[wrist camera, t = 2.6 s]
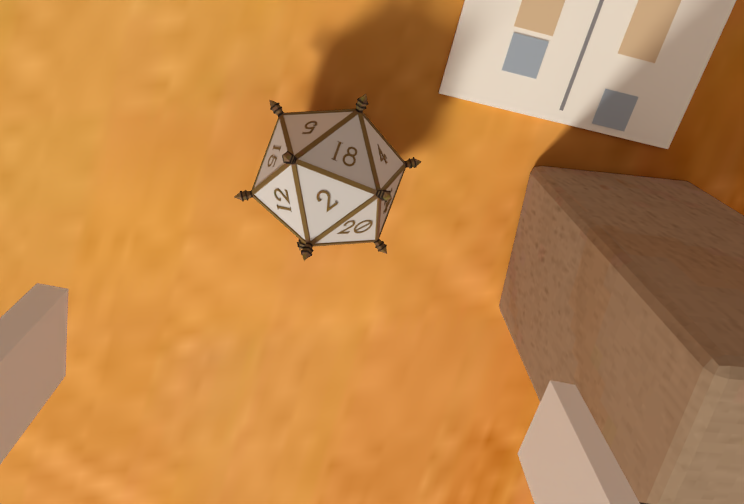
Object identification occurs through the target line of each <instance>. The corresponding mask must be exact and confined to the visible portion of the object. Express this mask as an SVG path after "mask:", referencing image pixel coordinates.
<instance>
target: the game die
mask: <svg viewBox="0 0 744 504" xmlns="http://www.w3.org/2000/svg"><path fill="white" fill-rule="evenodd" d="M357 100H358V102H357V103H356V109H344V110H326V111H308V112H290V113H284V112H283V111H282V106H281V107H280V105H279V103H276V102H274V101H271V100H270V105H271V108H270V109H271V110H273V112H274V114H276V115H278V120H277V123H276V126H275V128H274V131H273V134H272V136H271V139H270V142H269V144H268V147H267V150H266V153H265V155H264V158H263V161H262V163H261V166H260V169H259V172H258V174H257V177H256V180H255V182H254V185H253V188H252V190H251V191H246V190H245V191H243V192H242V191H240V193H238V194H237V195H236V196H235V198H237V199H240V200H242V201H244V200H248V199H249V198H251V197H253V198H254V199H255V200H256V201H258V202H259V203H260V204H261V205H262V206H263V207H264V208H265V209H267V210H268V211H269V212H270V213H271V214H272V215H273V216H274V217H276V218H277V219H278V220H279V221H280V222H281V223H282V224H283V225H284V226H286V227H287V228H288V229H289V230H290V231H291V232H292V233H293V234H295V235H296V236H297V237H298V238H299V242H297V244H298V247H299V250H301V249H303V250H301V254H302V255H303V259H304V260H306V259H307V258H308V257H310V256H312V252H313V249H312V246H326V245H341V244H355V243H370V242H374V243H375V245H376V247H375V248H377V249H378V252H379V251H380V252H383V253H386V254H387V250H386V246H387V245H385V244H384V242H383V241H381V240H380V239H379V237H380V235H381V232H382V229H383V227H384V224H385V221H386V219H387V216H388V213H389V211H390V208H391V205H392V203H393V200H394V197H395V195H396V192H397V189H398V187H399V184H400V181H401V179H402V176H403V174H404V171H405V168H406V167H409V168H412V167H414V168H415V167H416V166H417V165H418V164H419V163H421V161H419V160H417V159H414V157H413V159H410V158H409V159H408V160H407V161H404V160H403V159H402V158H401V157H400V156H399V155H398V153H397V152H396V151H395V150H394V149H393V148H392V146H391V145H390V144H389V143H388V142H387V140H386V139H385V138H384V137H383V136H382V135H381V133H380V132H379V131H378V130H377V129H376V128H375V126H374V125H373V124H372V123H371V122H370V120H369V119H368V118H367V117H366V116H365V115H364V113H363V110H364V109H366V105H368V102H367V96H366V94H365V95H364V96H362V97H361V98H358V99H357Z"/></svg>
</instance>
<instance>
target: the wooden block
mask: <svg viewBox="0 0 744 504" xmlns="http://www.w3.org/2000/svg"><path fill="white" fill-rule="evenodd" d="M499 307H500V311H501V313H502V315H503V318H504V320H505V322H506V325H507V327H508V329H509V331H510V334H511V336H512V338H513V341H514V343H515V345H516V347H517V350H518V352H519V354H520V357H521V359H522V361H523V363H524V366H525V368H526V370H527V373H528V375H529V377H530V380H531V382H532V384H533V386H534V389H535V391H536V393H537V396H538V398H539V400H540V402H541V400H542V397H543V395H544V393H545V391H546V388H547V386H548V384H549V382H550V380H552V381H557V382H563V383H568V384H573V385H576V387H577V389H578V390H579V392H580V394H581V396H582V398H583V400H584V402H585V403H586V405H587V407H588V409H589V411H590V413H591V414H592V416H593V418H594V420H595V422H596V424H597V425H598V427H599V429H600V431H601V433H602V435H603V437H604V438H605V440H606V442H607V444H608V446H609V448H610V449H611V451H612V453H613V455H614V457H615V459H616V460H617V462H618V464H619V466H620V468H621V470H622V472H623V473H624V475H625V477H626V479H627V481H628V483H629V484H630V486H631V488H632V490H633V492H634V494H635V495H636V497H637V499H638V501H639V502H642V503H648V504H744V216H743V215H741V214H740V213H738V212H737V211H735V210H733V209H732V208H730V207H729V206H727V205H725V204H724V203H722V202H720V201H719V200H717V199H716V198H714V197H712V196H711V195H709V194H708V193H706V192H704V191H703V190H701V189H699V188H698V187H696V186H695V185H693V184H691V183H690V182H688V181H681V180H671V179H662V178H652V177H642V176H633V175H623V174H614V173H604V172H595V171H585V170H576V169H566V168H556V167H547V166H538V167H534V168H533V169H532V171H531V173H530V177H529V181H528V185H527V190H526V194H525V198H524V202H523V206H522V211H521V215H520V219H519V223H518V228H517V232H516V236H515V240H514V245H513V249H512V253H511V257H510V262H509V266H508V270H507V274H506V279H505V283H504V287H503V291H502V296H501V300H500V304H499Z"/></svg>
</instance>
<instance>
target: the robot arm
mask: <svg viewBox="0 0 744 504" xmlns="http://www.w3.org/2000/svg"><path fill="white" fill-rule="evenodd" d="M67 313H68V289H65V288H60V287H55V286H50V285H44V284H39V283H37V284H36V285H35V286H34V287H32V288H31V289H30V290H29V291H28V292H27V293H26V294H25V295H24V296H23V297H22V298H21V299H20V300H19V301H18V302H17V303H16V304H15V305H13V306H12V307H11V308H10V309H9V310H8V311H7V312H6V313H5V314H4V315H3V316H2V317H1V318H0V464H1V463H2V461H3V460H4V459H5V457H6V456H7V454H8V453H9V452H10V450H11V449H12V448H13V446H14V445H15V444H16V442H17V441H18V440H19V438H20V437H21V435H22V434H23V433H24V431H25V430H26V429H27V427H28V426H29V425H30V423H31V422H32V421H33V419H34V418H35V416H36V415H37V414H38V412H39V411H40V410H41V408H42V407H43V406H44V404H45V403H46V402H47V400H48V399H49V397H50V396H51V395H52V393H53V392H54V391H55V389H56V388H57V387H58V385H59V384H60V382H61V381H62V380H63V378H64V377H65V373H66V343H67ZM518 456H519V459H520V462H521V465H522V468H523V471H524V474H525V477H526V480H527V483H528V486H529V488H530V491H531V494H532V497H533V500H534V503H535V504H648V503H642V502H639V501H638V499H637V497H636V495H635V494H634V492H633V490H632V488H631V486H630V484H629V483H628V481H627V479H626V477H625V475H624V473H623V472H622V470H621V468H620V466H619V464H618V462H617V460H616V459H615V457H614V455H613V453H612V451H611V449H610V448H609V446H608V444H607V442H606V440H605V438H604V437H603V435H602V433H601V431H600V429H599V427H598V425H597V424H596V422H595V420H594V418H593V416H592V414H591V413H590V411H589V409H588V407H587V405H586V403H585V402H584V400H583V398H582V396H581V394H580V392H579V390H578V389H577V387H576V385H573V384H568V383H563V382H557V381H552V380H550V382H549V384H548V386H547V388H546V391H545V393H544V395H543V397H542V400H541V402H540V404H539V406H538V409H537V411H536V413H535V416H534V418H533V420H532V422H531V425H530V427H529V429H528V431H527V434H526V436H525V438H524V440H523V443H522V445H521V447H520V449H519V452H518Z"/></svg>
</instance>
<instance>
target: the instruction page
mask: <svg viewBox="0 0 744 504" xmlns="http://www.w3.org/2000/svg"><path fill="white" fill-rule="evenodd" d="M735 2H736V0H465V1H464V4H463V8H462V11H461V15H460V18H459V22H458V25H457V29H456V33H455V36H454V40H453V43H452V47H451V50H450V54H449V57H448V61H447V65H446V68H445V72H444V75H443V79H442V82H441V86H440V89H439V94H443V95H447V96H452V97H456V98H460V99H464V100H468V101H472V102H476V103H480V104H484V105H488V106H493V107H497V108H501V109H505V110H509V111H513V112H517V113H521V114H525V115H529V116H533V117H538V118H542V119H546V120H550V121H554V122H558V123H562V124H566V125H570V126H574V127H579V128H583V129H587V130H591V131H595V132H599V133H603V134H607V135H611V136H615V137H620V138H624V139H628V140H632V141H636V142H640V143H644V144H648V145H652V146H656V147H661V148H665V149H668V148H669V146H670V144H671V142H672V140H673V137H674V135H675V133H676V131H677V129H678V127H679V124H680V122H681V120H682V118H683V116H684V113H685V111H686V109H687V107H688V105H689V103H690V100H691V98H692V96H693V94H694V92H695V89H696V87H697V85H698V83H699V81H700V79H701V76H702V74H703V72H704V70H705V68H706V66H707V63H708V61H709V59H710V57H711V55H712V52H713V50H714V48H715V46H716V44H717V42H718V39H719V37H720V35H721V33H722V31H723V28H724V26H725V24H726V22H727V20H728V18H729V15H730V13H731V11H732V9H733V7H734V5H735Z"/></svg>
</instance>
